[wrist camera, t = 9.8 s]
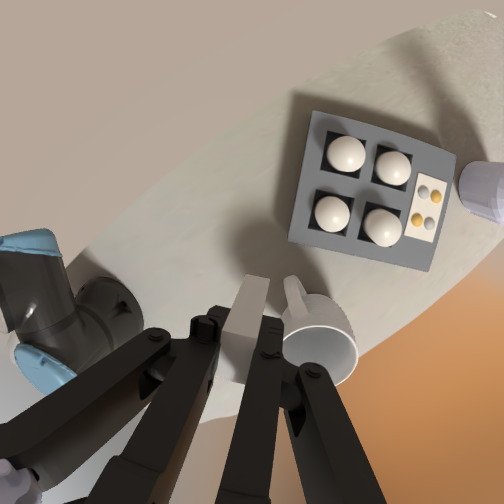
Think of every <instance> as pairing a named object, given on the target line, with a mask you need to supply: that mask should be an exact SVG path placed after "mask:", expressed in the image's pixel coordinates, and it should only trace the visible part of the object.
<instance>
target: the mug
mask: <svg viewBox="0 0 504 504" xmlns="http://www.w3.org/2000/svg"><path fill="white" fill-rule="evenodd" d="M284 290H285V294H286V298H287V302H288V307H287V308H286V310H285V311H284V313H283V314H282V316H281V318H280V319H281V320H282V321H283V323H284V335H283V336H284V337H283V349H282V352H283V355H284V358H285V359H286V360H287V361H288V362H290V363H292V364H294V365H296V366H299V367H300V365H301V364H303V363H305V362H314V363H318V364H320V365H322V366H323V367H325V368H326V369H327V371H328V372H329V374H330V377H331V379H332V381H333V383H334V385H335V386H336V385H338V384H340V383H341V382H343V381H344V380H345V379H347V378H348V377H349V376H350V375H351V373H352V372H353V370H354V369H355V367H356V365H357V361H358V347H357V344H356V340H355V336H354V334H353V330H352V328H351V325H350V323H349V320H348V319H347V316H346V315H345V313H344V311H343V310H342V309H341V307H339V305H338V304H337V303H336V302H335V301H333V300H332V299H331V298H328V297H327V296H324V295H320V294H307V293H306V291H305V289H304V287H303V285H302V284H301V282H300V281H299V279H298V278H297V276H295V275H291V276H288V277H286V278H285V279H284Z"/></svg>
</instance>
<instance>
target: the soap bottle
mask: <svg viewBox="0 0 504 504" xmlns="http://www.w3.org/2000/svg"><path fill="white" fill-rule="evenodd" d="M459 194H460V199H461V201H462V203H463V205H464V207H465V208H466V209H467V210H468V211H469V212H470V213H472V214H474V215H477V216H480V217H482V218H485V219H488V220H490V221H493V222H495V223H498V224H500V225H503V226H504V163H501V162H487V161H473V162H471V163H469V164H468V165H467V166H466V167H465V168H464V170H463V171H462V173H461V176H460V179H459Z"/></svg>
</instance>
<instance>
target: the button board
mask: <svg viewBox="0 0 504 504" xmlns="http://www.w3.org/2000/svg"><path fill="white" fill-rule="evenodd" d="M343 136H351V137H354V138H356V139H357V140H359V141H360V142H361V143H362V145H363V147H364V149H365V161H364V163H363V165H362V166H361V167H360V168H359V169H358V170H356V171H352V172H345V171H339V170H336V169H334V168H333V167H331V166H330V164H329V163H328V161H327V158H326V150H327V147H328V146H329V144H330V143H331V142H333V141H334V140H336V139H338V138H340V137H343ZM384 152H400V153H402V154H403V155H405V156H406V157H407V159H408V160H409V162H410V165H411V173H410V177H409V178H408V180H407V181H406V182H405V183H403V184H401V185H392V184H388V183H384V182H381V181H379V180H378V179H377V178H376V177H375V176H374V174H373V172H372V171H373V166H374V161H375V157H376V156H377V155H378V154H380V153H384ZM456 158H457V155H455V154H453V153H450V152H448V151H446V150H443V149H441V148H438V147H436V146H433V145H430V144H428V143H425V142H422V141H420V140H417V139H414V138H411V137H408V136H406V135H403V134H400V133H397V132H394V131H390V130H387V129H384V128H381V127H377V126H374V125H371V124H367V123H364V122H360V121H356V120H353V119H349V118H345V117H341V116H337V115H333V114H328V113H324V112H319V111H315V110H313V111H312V113H311V117H310V123H309V129H308V134H307V140H306V145H305V150H304V156H303V161H302V166H301V172H300V177H299V182H298V187H297V192H296V197H295V202H294V207H293V212H292V217H291V222H290V226H289V231H288V238H287V241H288V242H293V243H298V244H302V245H307V246H312V247H317V248H321V249H326V250H331V251H335V252H340V253H344V254H349V255H354V256H358V257H363V258H367V259H372V260H376V261H381V262H385V263H390V264H394V265H399V266H403V267H407V268H412V269H416V270H420V271H425V272H428V271H429V268H430V265H431V262H432V259H433V256H434V252H435V249H436V246H437V242H438V239H439V236H440V232H441V228H442V225H443V221H444V217H445V213H446V209H447V204H448V200H449V196H450V191H451V186H452V181H453V176H454V170H455V165H456ZM324 195H334V196H336V197H338V198H339V199H340V200H342V201H343V202H344V203H345V204H346V205H347V207H348V209H349V213H350V217H349V221H348V223H347V225H346V226H345V227H344V228H343V229H342V230H340V231H337V232H328V231H326V230H324V229H322V228H321V227H320V226H319V224H318V222H317V220H316V218H315V215H314V205H315V202H316V201H317V200H318V199H319V198H320V197H321V196H324ZM372 208H382V209H384V210H386V211H388V212H390V213H392V214H394V215H395V216H396V217H397V218H398V219H399V220H400V222H401V226H402V232H401V236H400V238H399V240H398V241H397V242H396V243H395V244H393V245H391V246H388V247H382V246H379V245H377V244H376V243H375V242H374V241H373V240H372V239H371V238H370V237H369V236H368V235H367V234H366V233H365V231H364V229H363V226H362V221H363V217H364V215H365V214H366V212H367V211H369V210H370V209H372Z"/></svg>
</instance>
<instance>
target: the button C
mask: <svg viewBox="0 0 504 504" xmlns="http://www.w3.org/2000/svg"><path fill="white" fill-rule="evenodd" d="M362 226H363V229H364V231H365V233H366V234H367V235H368V236H369V237H370V238H371V239H372V240H373V241H374V242H375V243H376V244H377V245H379V246H382V247H388V246H391V245H393V244H395V243H396V242H397V241H398V240H399V238H400V236H401V232H402V226H401V222H400V220H399V219H398V218H397V217H396V216H395V215H394V214H392V213H390V212H388V211H386V210H384V209H382V208H372V209H370V210H369V211H367V212H366V214H365V215H364V217H363V221H362Z"/></svg>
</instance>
